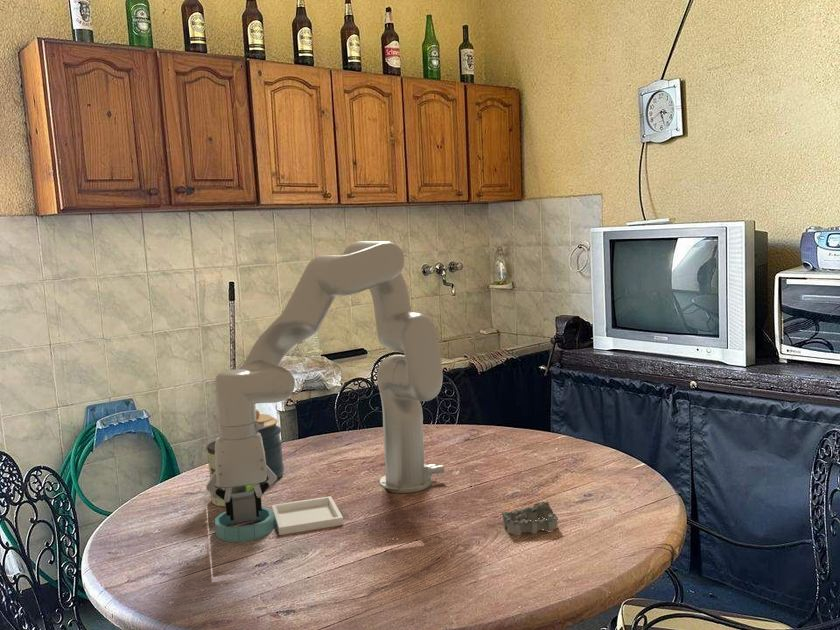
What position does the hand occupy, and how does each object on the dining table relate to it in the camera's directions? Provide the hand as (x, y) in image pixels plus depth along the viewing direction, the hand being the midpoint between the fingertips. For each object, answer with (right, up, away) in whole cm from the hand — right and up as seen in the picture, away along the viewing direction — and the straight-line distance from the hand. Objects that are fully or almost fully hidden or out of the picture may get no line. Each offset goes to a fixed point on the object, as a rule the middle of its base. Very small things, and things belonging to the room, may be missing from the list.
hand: (244, 515), depth 150 cm
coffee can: (-7, -2, +18) cm, 19 cm away
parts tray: (+12, -3, +5) cm, 13 cm away
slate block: (0, 0, 0) cm, 0 cm away
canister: (-5, 0, +35) cm, 36 cm away
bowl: (0, -4, 0) cm, 4 cm away
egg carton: (+59, -2, -2) cm, 59 cm away
